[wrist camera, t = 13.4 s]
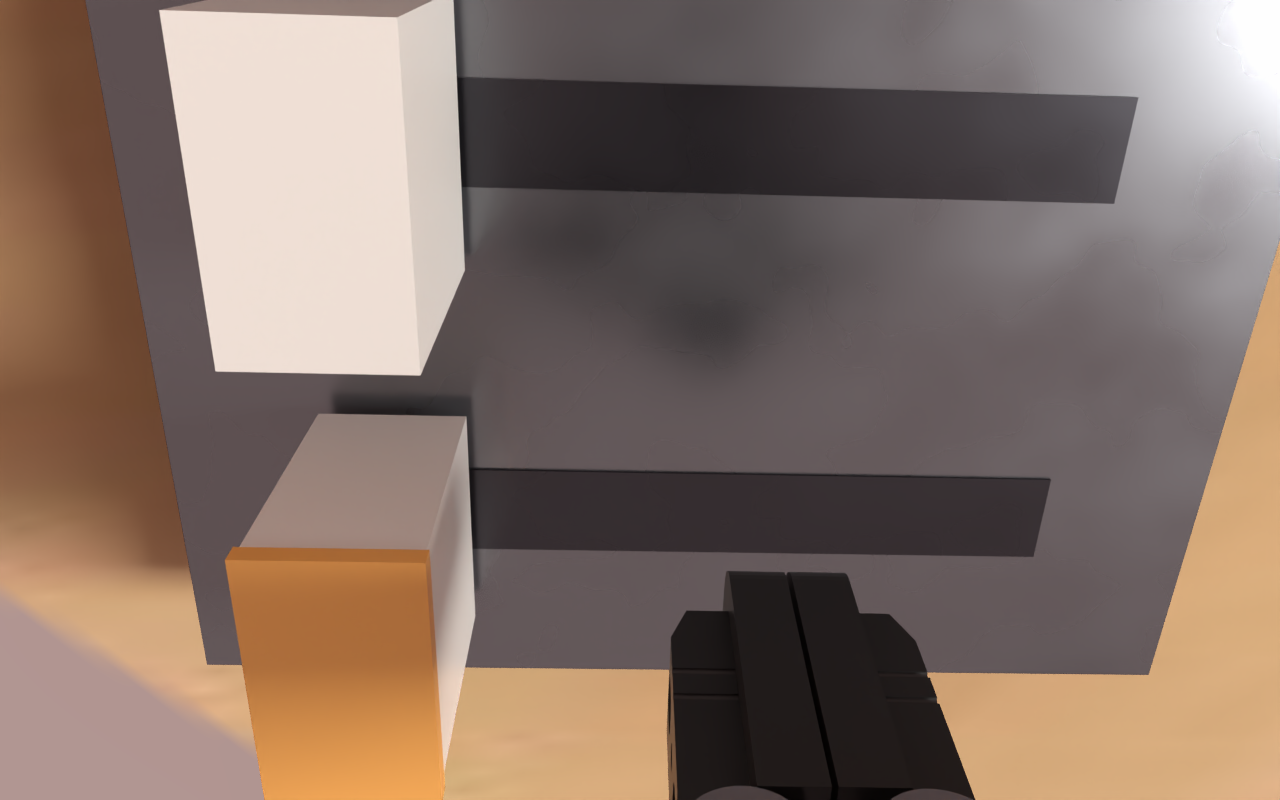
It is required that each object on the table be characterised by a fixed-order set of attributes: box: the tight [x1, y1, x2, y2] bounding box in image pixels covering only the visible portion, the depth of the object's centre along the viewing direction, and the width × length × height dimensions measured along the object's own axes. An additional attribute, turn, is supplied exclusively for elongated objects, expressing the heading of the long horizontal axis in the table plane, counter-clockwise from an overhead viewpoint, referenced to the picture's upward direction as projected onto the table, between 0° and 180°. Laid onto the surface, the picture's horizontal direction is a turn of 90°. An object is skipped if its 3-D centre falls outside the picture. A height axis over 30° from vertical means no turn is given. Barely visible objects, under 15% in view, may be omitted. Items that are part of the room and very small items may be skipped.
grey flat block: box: [85, 0, 1280, 675], centre depth 17 cm, size 18×20×3 cm
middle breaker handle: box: [159, 0, 465, 376], centre depth 13 cm, size 2×4×4 cm, turn 178°
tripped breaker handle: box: [225, 414, 475, 800], centre depth 16 cm, size 2×4×4 cm, turn 178°
